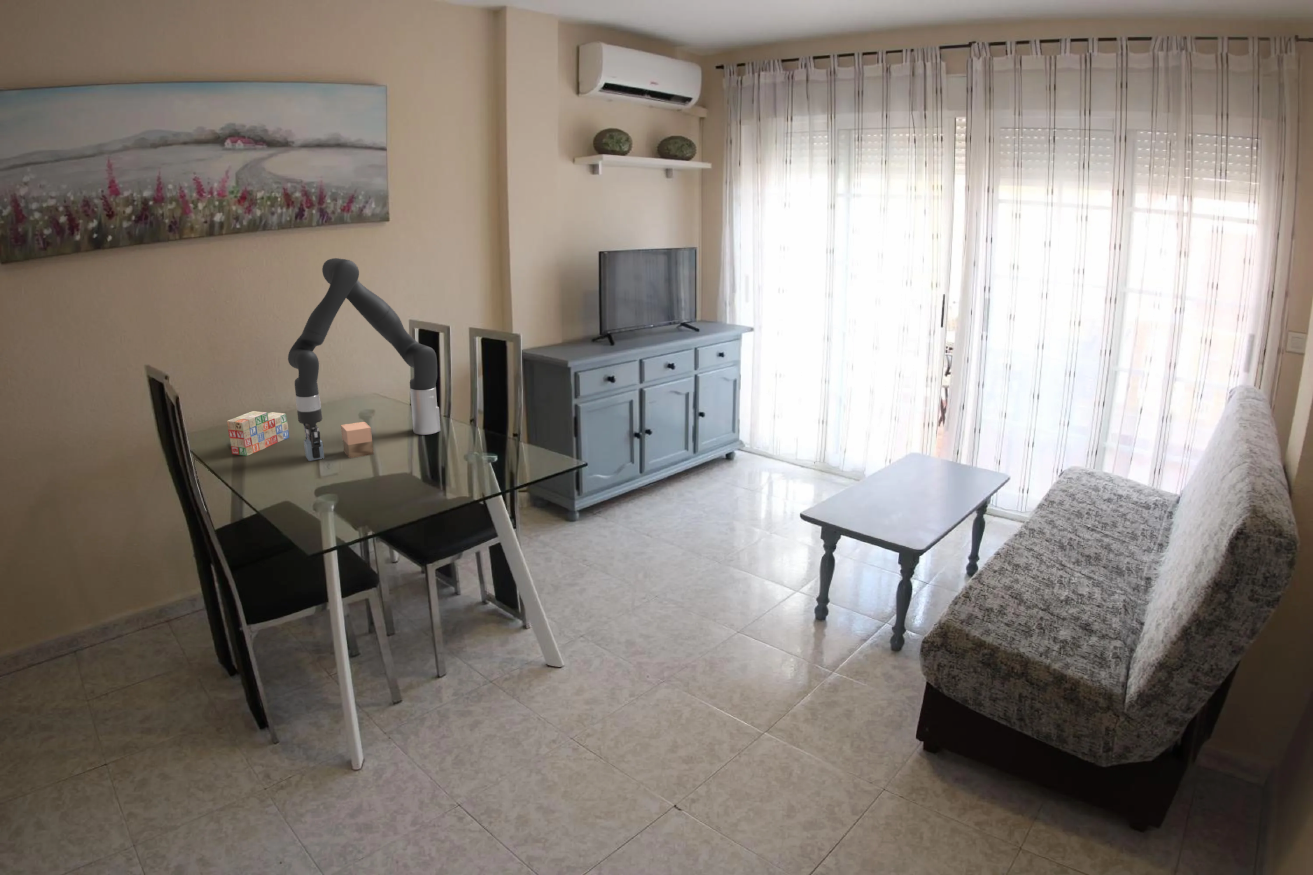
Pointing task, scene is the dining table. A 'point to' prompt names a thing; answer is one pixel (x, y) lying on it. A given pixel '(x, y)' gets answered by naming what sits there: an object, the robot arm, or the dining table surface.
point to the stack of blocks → (256, 431)
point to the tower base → (358, 449)
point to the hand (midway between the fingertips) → (314, 455)
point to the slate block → (309, 450)
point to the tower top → (356, 433)
